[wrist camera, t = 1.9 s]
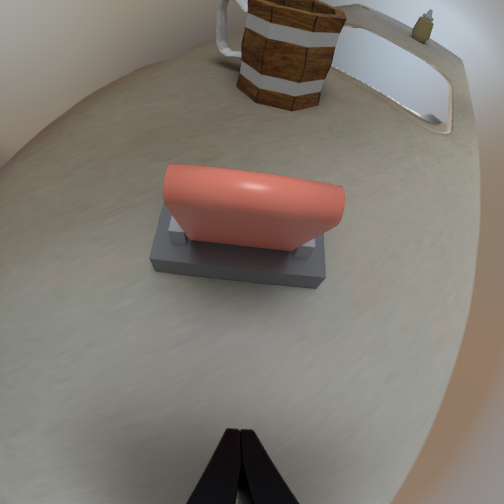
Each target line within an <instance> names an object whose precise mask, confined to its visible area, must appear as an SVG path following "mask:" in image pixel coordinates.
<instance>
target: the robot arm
mask: <svg viewBox="0 0 504 504" xmlns="http://www.w3.org/2000/svg"><path fill="white" fill-rule="evenodd" d="M236 497H237V499H238V504H299V502H298V501H297V499H296V498H295V496H294V495H293V493H292V492H291V490H290V489H289V487H288V486H287V484H286V483H285V481H284V480H283V478H282V476H281V475H280V473H279V472H278V470H277V468H276V467H275V465H274V464H273V462H272V460H271V459H270V457H269V455H268V454H267V452H266V450H265V449H264V447H263V445H262V444H261V442H260V440H259V438H258V437H257V435H256V433H255V432H254V431H253V430H251V429H241V430H239V429H233V428H227V429H226V430H225V432H224V434H223V436H222V438H221V440H220V442H219V444H218V446H217V448H216V450H215V451H214V453H213V455H212V457H211V459H210V461H209V463H208V465H207V467H206V469H205V470H204V472H203V474H202V476H201V478H200V480H199V481H198V483H197V485H196V487H195V489H194V491H193V492H192V494H191V496H190V498H189V499H188V501H187V503H186V504H235V503H236Z"/></svg>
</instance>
